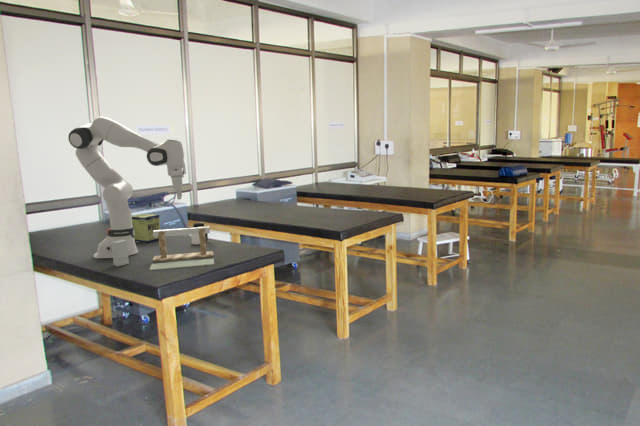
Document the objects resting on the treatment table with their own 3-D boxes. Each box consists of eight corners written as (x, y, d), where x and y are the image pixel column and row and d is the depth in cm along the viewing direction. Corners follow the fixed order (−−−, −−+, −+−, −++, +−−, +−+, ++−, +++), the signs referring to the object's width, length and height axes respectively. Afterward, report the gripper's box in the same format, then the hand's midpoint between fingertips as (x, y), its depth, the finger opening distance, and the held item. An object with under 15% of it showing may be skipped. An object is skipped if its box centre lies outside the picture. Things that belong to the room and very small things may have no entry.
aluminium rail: (153, 237, 259) (152, 231, 258) (154, 236, 262) (153, 230, 261) (209, 233, 265) (209, 227, 264) (209, 231, 268) (209, 226, 267)
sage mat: (149, 270, 242) (149, 269, 242) (151, 265, 252) (151, 263, 251) (214, 264, 248) (214, 263, 248) (213, 259, 258) (213, 258, 258)
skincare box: (124, 262, 258) (122, 239, 256) (129, 264, 255) (127, 240, 253) (113, 265, 253) (110, 241, 251) (117, 266, 250) (115, 242, 248)
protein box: (148, 243, 302) (146, 217, 299) (130, 241, 310) (127, 216, 307) (161, 239, 311) (159, 214, 308) (144, 237, 319) (141, 213, 316)
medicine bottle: (203, 244, 294) (201, 224, 292) (191, 244, 295) (190, 224, 293) (208, 241, 301) (206, 221, 299) (197, 241, 302) (195, 221, 300)
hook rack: (153, 261, 258) (150, 232, 256) (154, 257, 266) (151, 229, 264) (213, 256, 265) (211, 228, 262) (213, 252, 272) (211, 225, 270)
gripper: (171, 170, 269) (174, 196, 271) (169, 173, 249) (172, 201, 251) (183, 169, 270) (186, 195, 272) (182, 172, 250) (185, 200, 253)
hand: (179, 198), depth 262 cm, fingers open, 8 cm apart
